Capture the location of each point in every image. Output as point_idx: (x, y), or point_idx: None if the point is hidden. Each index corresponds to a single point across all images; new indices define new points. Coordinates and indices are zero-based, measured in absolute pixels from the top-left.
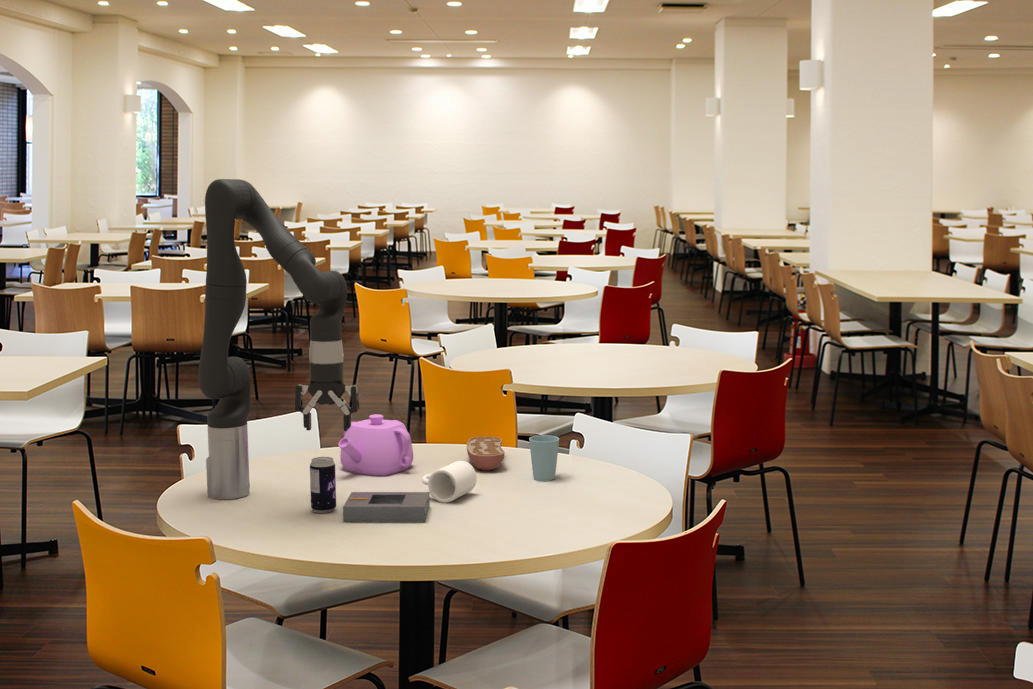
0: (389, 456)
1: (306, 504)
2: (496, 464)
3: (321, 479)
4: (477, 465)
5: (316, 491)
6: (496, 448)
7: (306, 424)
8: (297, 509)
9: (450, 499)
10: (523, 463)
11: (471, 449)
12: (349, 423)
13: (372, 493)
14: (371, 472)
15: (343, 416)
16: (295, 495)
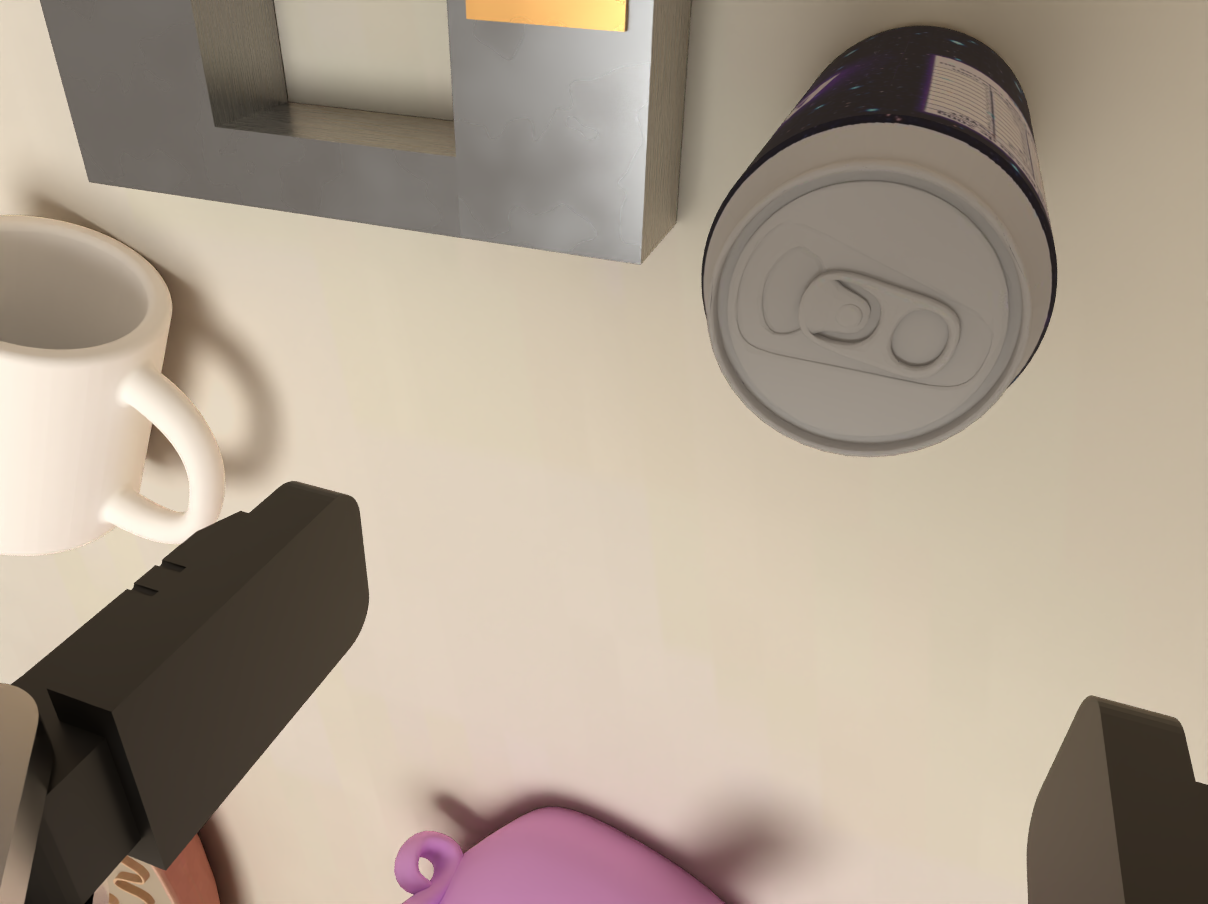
0: (481, 892)
1: (1058, 345)
2: None
3: (898, 82)
4: None
5: (972, 67)
6: None
7: (1195, 824)
8: (1161, 203)
9: (61, 224)
10: None
11: (156, 879)
12: (162, 573)
13: (465, 195)
14: (616, 841)
15: (133, 693)
16: (1134, 595)
